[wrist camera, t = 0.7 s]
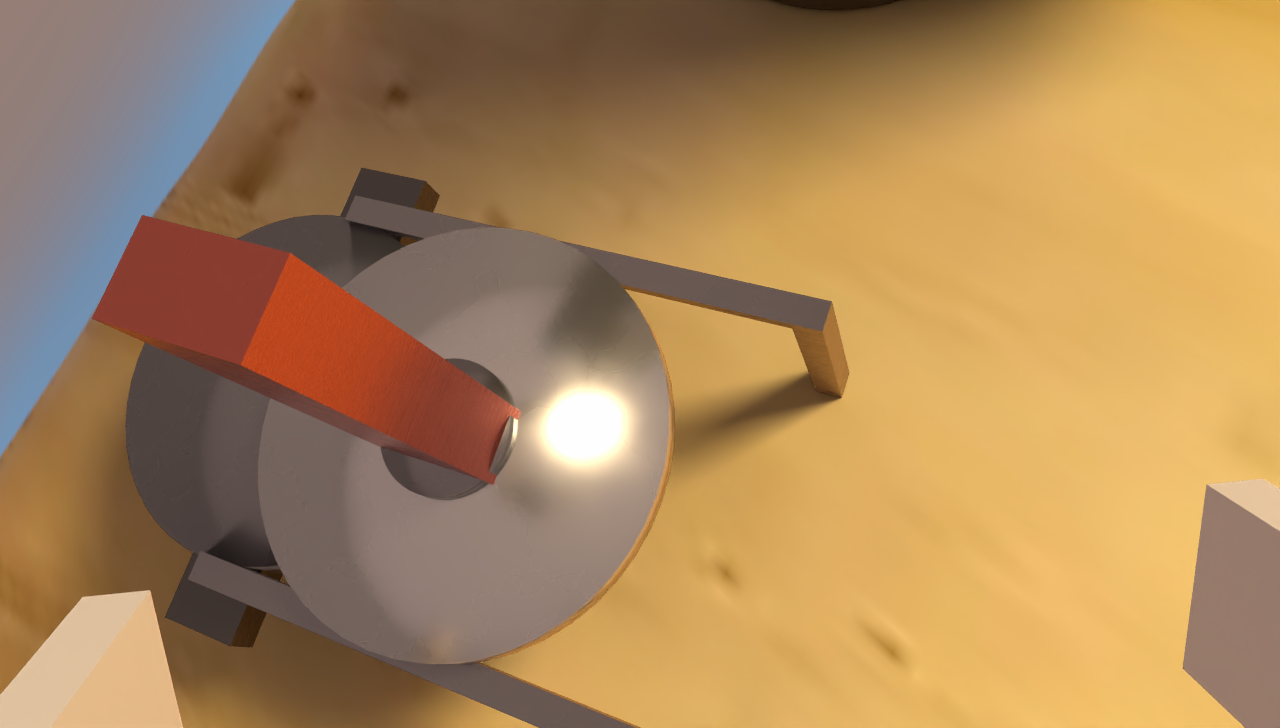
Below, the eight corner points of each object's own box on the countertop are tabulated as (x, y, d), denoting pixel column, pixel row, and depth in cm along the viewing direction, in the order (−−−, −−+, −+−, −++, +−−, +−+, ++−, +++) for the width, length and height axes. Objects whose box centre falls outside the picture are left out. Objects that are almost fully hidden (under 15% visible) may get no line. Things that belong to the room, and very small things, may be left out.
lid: (370, 203, 35) (95, -37, 24) (734, 286, 31) (615, 34, 19) (207, 579, 32) (-199, 515, 21) (583, 736, 28) (329, 769, 16)
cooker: (340, 210, 45) (239, 127, 39) (861, 331, 37) (847, 251, 30) (175, 587, 42) (31, 567, 35) (714, 818, 33) (660, 851, 26)
